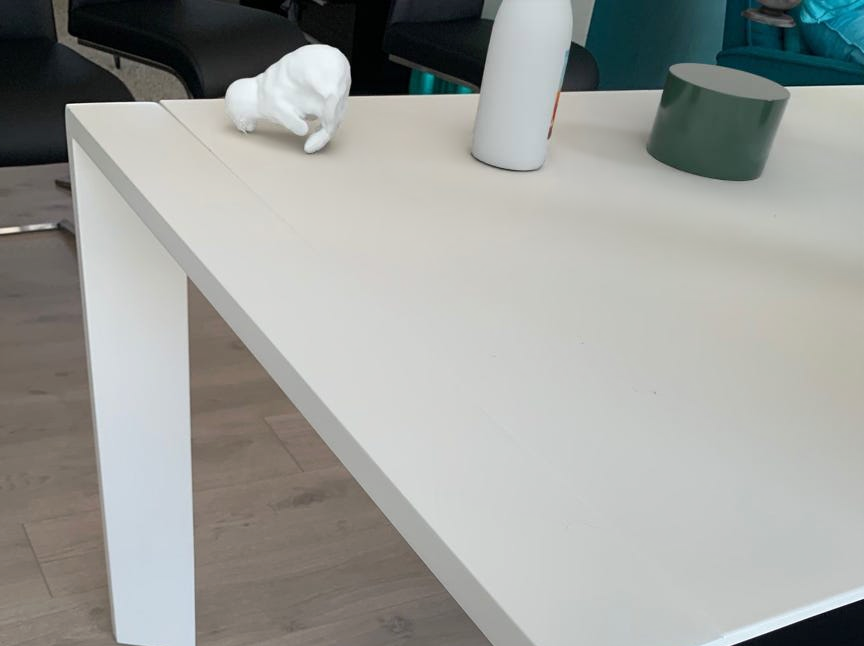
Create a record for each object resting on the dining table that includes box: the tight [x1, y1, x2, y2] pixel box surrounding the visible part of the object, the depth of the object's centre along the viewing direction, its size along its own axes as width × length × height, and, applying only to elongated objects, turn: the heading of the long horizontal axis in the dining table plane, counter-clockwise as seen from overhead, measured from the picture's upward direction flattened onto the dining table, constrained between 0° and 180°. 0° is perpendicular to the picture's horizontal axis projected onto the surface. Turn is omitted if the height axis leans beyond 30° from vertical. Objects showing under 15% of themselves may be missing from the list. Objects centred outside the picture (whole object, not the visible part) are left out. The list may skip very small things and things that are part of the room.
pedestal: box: [646, 62, 791, 181], centre depth 111 cm, size 13×13×8 cm
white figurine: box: [224, 43, 352, 154], centre depth 96 cm, size 6×8×12 cm
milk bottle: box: [470, 0, 574, 171], centre depth 97 cm, size 8×8×20 cm
